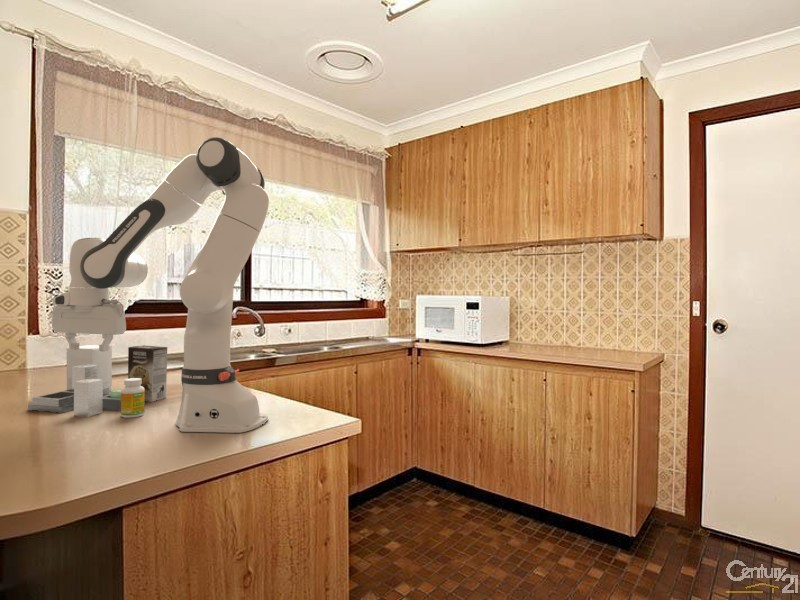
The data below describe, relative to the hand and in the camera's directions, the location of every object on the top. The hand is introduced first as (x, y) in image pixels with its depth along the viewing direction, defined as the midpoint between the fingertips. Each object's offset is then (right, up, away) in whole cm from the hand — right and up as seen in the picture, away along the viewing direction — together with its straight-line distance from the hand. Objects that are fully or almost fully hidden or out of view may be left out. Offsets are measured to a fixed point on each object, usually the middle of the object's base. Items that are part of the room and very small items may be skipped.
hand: (89, 350), depth 122 cm
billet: (0, -17, 0) cm, 17 cm away
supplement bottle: (+12, -18, 0) cm, 21 cm away
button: (+2, -16, +9) cm, 18 cm away
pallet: (-12, -17, +10) cm, 23 cm away
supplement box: (-17, -17, +25) cm, 34 cm away
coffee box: (+5, -17, +18) cm, 26 cm away
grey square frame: (+2, -17, +9) cm, 19 cm away
